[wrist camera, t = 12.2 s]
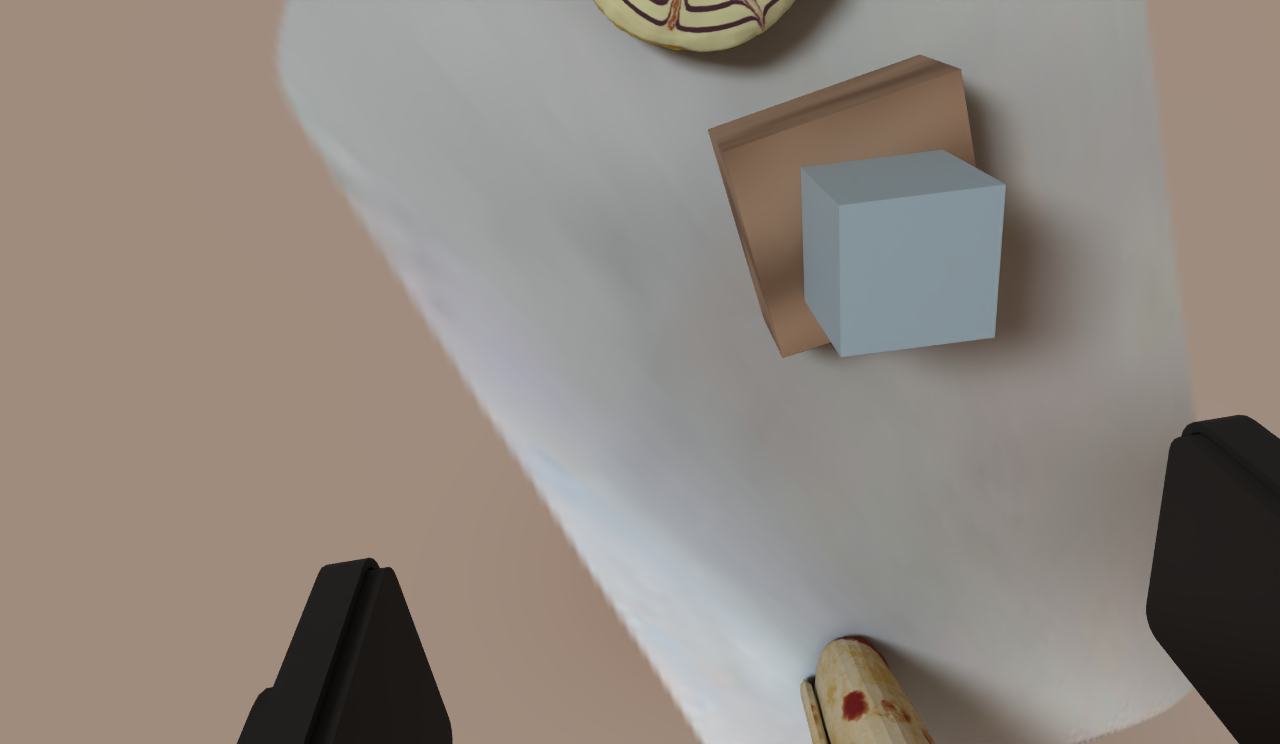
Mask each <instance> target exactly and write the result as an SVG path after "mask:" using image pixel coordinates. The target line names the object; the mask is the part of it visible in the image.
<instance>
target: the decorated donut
mask: <svg viewBox="0 0 1280 744" xmlns="http://www.w3.org/2000/svg"><path fill="white" fill-rule="evenodd" d="M593 1H594V2H595V4H596V5H597V7H598V8H599V9H600V10H601V11H602V12H603V13H604V15H605V16H606V17H607V18H608V20H610V21H611V22H613V24H614V25H615V26H616V27H617V28H619V29H620V30H623V31H625V32H627V33H628V34H629V35H631V36H633V37H636V38H638V39H640V40H643V41H645V42H648V43H651V44H655V45H658V46H664V47H666V48H669V49H673V50H683V49H685V50H692V51H698V52H710V51H718V50H725V49H729V48H733V47H736V46H738V45H740V44H742V43H745V42H747V41H749V40H751V39H752V38H754V37H755V36H757V35H760V34H762V33H763V32H765V31H766V30H767V29H768V28H769V27H771V26H772V25H773V24H774V23H776V22H777V21H778V19H779V18H780V17H781V16H782V15H783V14H784V13H785V12H786V11H787V10H788V9H789V8H790V7H791V6H792V5H793V3H794V1H795V0H593Z"/></svg>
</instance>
